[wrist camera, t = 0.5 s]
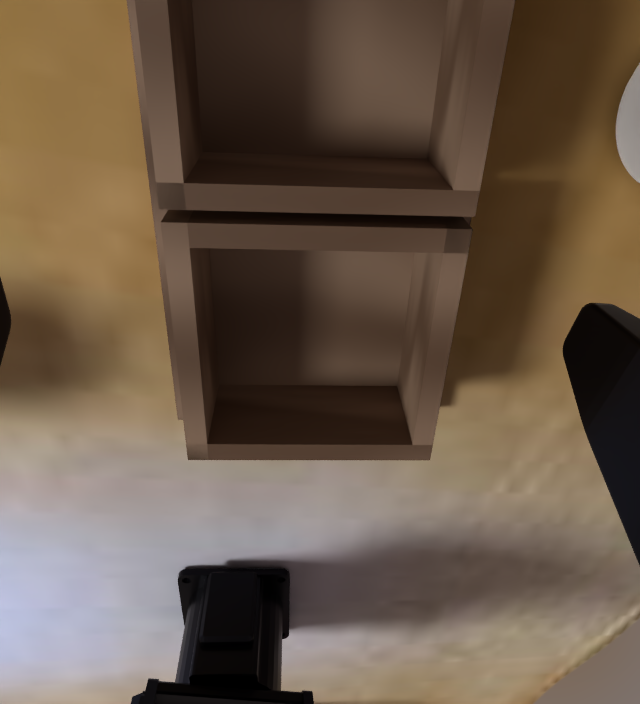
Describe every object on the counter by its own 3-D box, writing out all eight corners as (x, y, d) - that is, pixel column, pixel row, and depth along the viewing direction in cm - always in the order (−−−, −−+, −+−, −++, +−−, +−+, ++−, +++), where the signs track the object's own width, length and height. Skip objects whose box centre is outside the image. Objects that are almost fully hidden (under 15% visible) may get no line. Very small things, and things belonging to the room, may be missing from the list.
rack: (429, 407, 28) (454, 481, 23) (181, 406, 27) (160, 482, 23) (538, -212, 16) (626, -289, 12) (106, -239, 15) (35, -331, 11)
